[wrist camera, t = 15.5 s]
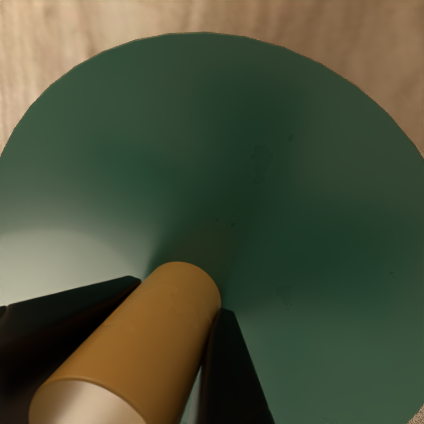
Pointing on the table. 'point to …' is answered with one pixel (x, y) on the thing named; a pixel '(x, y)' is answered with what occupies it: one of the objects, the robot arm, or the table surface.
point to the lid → (220, 231)
